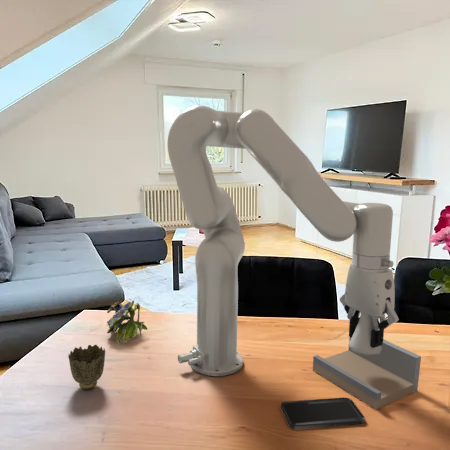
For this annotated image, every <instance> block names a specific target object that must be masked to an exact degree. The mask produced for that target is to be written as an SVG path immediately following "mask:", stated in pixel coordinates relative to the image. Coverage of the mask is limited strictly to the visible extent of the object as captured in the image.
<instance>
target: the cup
mask: <svg viewBox="0 0 450 450" xmlns="http://www.w3.org/2000/svg"><path fill="white" fill-rule="evenodd" d="M105 359H106V349H105V348H103V347H102V346H98V345H97V344H94V345H91V344H88V346H87V348H82V346H79V347H76V346H75V347H74V348H73V351H72V350H70V353H68V362H69V366H70V368H69V369H70V372H71V373H70V374H71V376H72V378H73V380H74V381H75V382H76V383H78V386H79V388H80V389H81V390H83V391H90V390H93V389H94V388H96V387H97V385H98V380H100V378H101V377H102V375H103V374H104V369H105Z"/></svg>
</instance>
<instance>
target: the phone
mask: <svg viewBox="0 0 450 450" xmlns="http://www.w3.org/2000/svg"><path fill="white" fill-rule="evenodd" d="M280 410H281V412H282V415H283V417H284V419H285V422H286V424H287V426H288V427H289V428H290V429H291V430H309V429H321V428H322V429H323V428H336V427H347V426H349V427H351V426H362V425H364V424H365V422H366V418H365V416H364V414H363V413H362V412H361V410H360V409H359V407H358V406H357V404H356V403H355V402H354V401H353V400H352V399H351V398H350V397H333V398H331V397H330V398H318V399H304V400H303V399H302V400H288V401H282V402H281V403H280Z"/></svg>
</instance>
